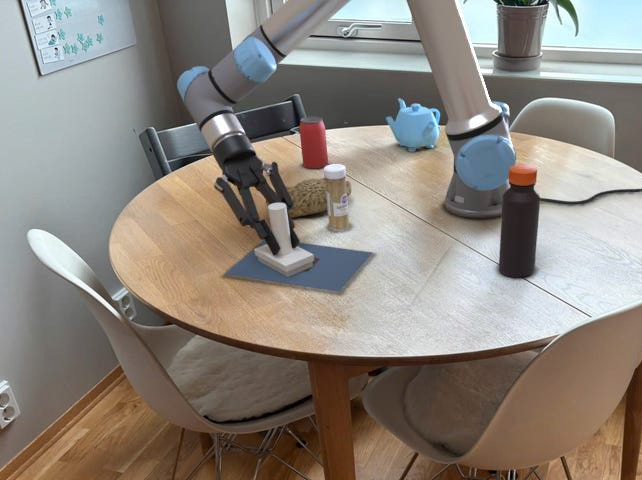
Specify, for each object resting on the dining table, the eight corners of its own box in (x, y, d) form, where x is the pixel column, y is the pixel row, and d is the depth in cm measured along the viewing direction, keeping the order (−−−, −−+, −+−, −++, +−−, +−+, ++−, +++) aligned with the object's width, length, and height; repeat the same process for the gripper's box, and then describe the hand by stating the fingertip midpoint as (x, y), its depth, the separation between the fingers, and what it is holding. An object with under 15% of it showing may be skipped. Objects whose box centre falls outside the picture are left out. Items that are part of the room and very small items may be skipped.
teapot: (381, 150, 199) (379, 109, 193) (399, 136, 210) (398, 96, 204) (433, 156, 195) (432, 114, 188) (449, 141, 205) (450, 100, 199)
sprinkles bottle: (345, 232, 155) (340, 171, 147) (325, 230, 156) (319, 169, 148) (352, 224, 158) (348, 164, 151) (333, 222, 160) (328, 162, 152)
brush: (283, 249, 147) (275, 193, 140) (315, 266, 141) (308, 208, 134) (256, 260, 143) (246, 203, 136) (287, 278, 137) (278, 219, 130)
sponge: (275, 232, 158) (361, 203, 160) (262, 198, 155) (350, 169, 157) (272, 220, 170) (352, 193, 172) (260, 188, 167) (342, 161, 169)
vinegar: (507, 259, 143) (513, 160, 132) (539, 267, 140) (548, 166, 129) (492, 273, 138) (497, 171, 127) (525, 281, 135) (533, 178, 124)
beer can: (333, 163, 191) (329, 117, 185) (317, 171, 187) (313, 124, 180) (314, 159, 194) (309, 114, 187) (298, 166, 190) (292, 120, 183)
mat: (373, 254, 146) (373, 252, 145) (339, 294, 132) (339, 291, 132) (266, 240, 152) (266, 238, 152) (224, 276, 139) (224, 274, 139)
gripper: (261, 145, 148) (316, 243, 146) (186, 165, 139) (243, 270, 137) (271, 123, 141) (328, 226, 140) (193, 143, 133) (253, 253, 131)
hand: (286, 248), depth 139 cm, fingers closed on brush, 4 cm apart
